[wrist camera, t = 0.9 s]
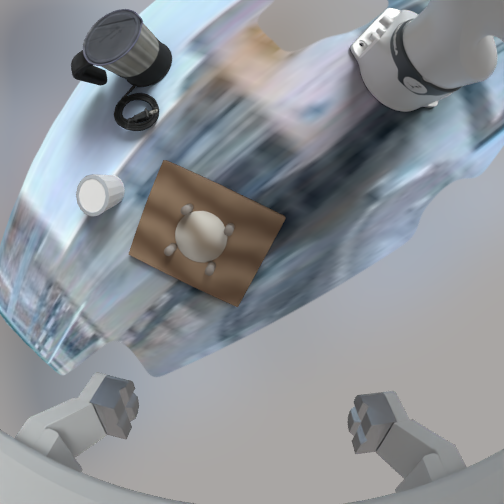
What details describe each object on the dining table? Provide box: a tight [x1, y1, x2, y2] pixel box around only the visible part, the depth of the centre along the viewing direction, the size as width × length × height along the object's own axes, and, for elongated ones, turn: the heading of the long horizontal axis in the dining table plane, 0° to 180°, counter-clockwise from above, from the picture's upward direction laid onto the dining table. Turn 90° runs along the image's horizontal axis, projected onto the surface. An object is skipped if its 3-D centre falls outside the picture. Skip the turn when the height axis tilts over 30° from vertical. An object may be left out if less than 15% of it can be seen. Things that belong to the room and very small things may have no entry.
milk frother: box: [71, 9, 172, 131], centre depth 34 cm, size 14×16×15 cm
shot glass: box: [76, 175, 125, 216], centre depth 44 cm, size 7×7×7 cm
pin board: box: [129, 160, 286, 307], centre depth 47 cm, size 18×22×5 cm
